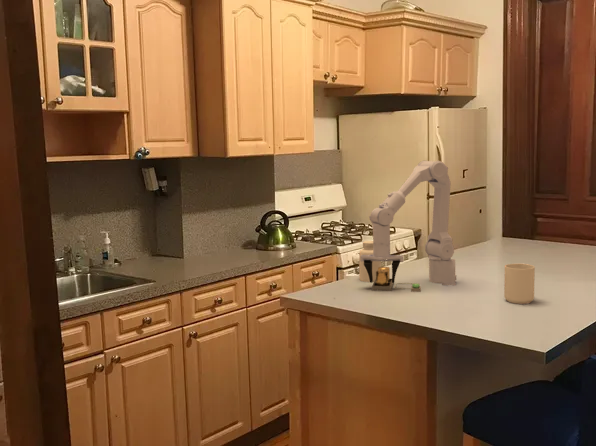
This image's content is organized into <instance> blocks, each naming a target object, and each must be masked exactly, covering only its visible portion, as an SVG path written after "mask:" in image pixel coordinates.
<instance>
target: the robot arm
mask: <svg viewBox="0 0 596 446" xmlns="http://www.w3.org/2000/svg"><path fill="white" fill-rule="evenodd" d="M448 171H449V168H448V165H446V163H444V162H443V161H441V160H436V161H435V160H422V161H420V162H419V163H418V164H417V165H416V166H414V168H413V170H412V172H411V173H410V175H409V176H408V177H407V179H406V180H405V181H404V183H403V184H402V185H401V186H400V187H399V189H398V190H393V191H391V192H388V194H387V197H386V198H385V199H384V200H383V201H382V202H380V203H379V205H378V207H375V208H374V209H372V211H371V212H370V215H369V216H368V217H369V220H370V222H371V223H372V241H373V255H361V256H360V261H361V262H363V261H364V266H365V268H366V270H367V272H368V275H369V279H370V282H369V284H370V283H371V284H372V283H374V282H373V276H372V261H381V262H392V263H391V279H392V283H394V284H395V281H396V279H395V278H396V275H397V270H398V268H399V265H400V264H401V263H403V262H404V255H402V254H401V255H399V254H391V224H392V223H393V222H394V217H395V215H396V213H397V212H398V211H399V210H400V209H401V208H402V207H403V206H404V204H406V198H407V196H408V195H409V194H410V193H411V192H413V190H414V189H416V187H418V185H420V184H421V183H423V182H424V183H425V182H428V183H429V184H430V185H431V186H432V187H433V188H434V191H433V206H432V207H433V208H432V210H433V211H432V223H431V224H432V225H431V226H432V227H431V231H430V233H429V234H428V235H427V241H426V243H425V245H424V251H425V253H426V255H427V257H428V277H429V278H428V280H429V281H428V282H431V283H434V284H441V285H442V286H456V280H457V275H456V259H455V258H454V259H452V257H453V255H454V253H455V247H454V245H453V243H454V242H453V238H452V236H451V235H450V233H449V232H448V231H449V218H450V200H451V199H450V198H451V186H452V185H451V179H450V177H449V174H448V173H449V172H448ZM376 259H378V260H376Z"/></svg>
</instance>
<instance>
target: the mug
mask: <svg viewBox="0 0 596 446" xmlns="http://www.w3.org/2000/svg"><path fill="white" fill-rule="evenodd" d="M535 269H536V267H535V265H532V264H527V263H508V264H505V265H504V284H503V286H504V289H503V290H504V294H503V295H504V299H505V300H506V302H508V303H511V304H516V305H517V304H519V305H521V304H522V305H523V304H525V305H526V304H530V303H532V302H533V300H534V299H535Z"/></svg>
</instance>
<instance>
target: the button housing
mask: <svg viewBox="0 0 596 446" xmlns="http://www.w3.org/2000/svg"><path fill="white" fill-rule="evenodd" d="M410 288H411V289H410V292H411V293H415V292H416V293H421V290H422V289H421V288H422V287H421V286H420V287H418V288H414V287H412V286H411V287H410Z"/></svg>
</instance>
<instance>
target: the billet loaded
mask: <svg viewBox="0 0 596 446" xmlns="http://www.w3.org/2000/svg"><path fill="white" fill-rule="evenodd" d="M379 270H386V271H388V282H390V279H391V278H390V277H391V276H390V274H391V273H390V267H388V266H381V267H378V271H379Z"/></svg>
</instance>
